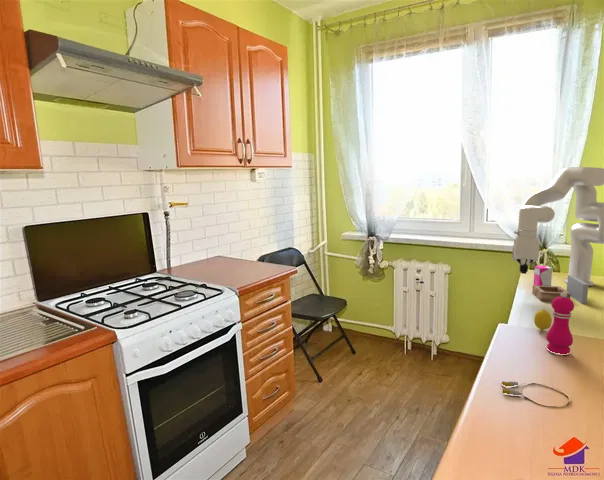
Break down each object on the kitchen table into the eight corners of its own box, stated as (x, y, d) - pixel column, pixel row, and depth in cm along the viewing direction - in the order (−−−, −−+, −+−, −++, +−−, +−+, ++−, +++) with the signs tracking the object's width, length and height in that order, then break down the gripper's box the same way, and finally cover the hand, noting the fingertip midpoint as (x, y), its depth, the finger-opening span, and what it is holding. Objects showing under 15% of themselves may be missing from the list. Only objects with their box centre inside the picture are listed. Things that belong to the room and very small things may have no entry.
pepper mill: (567, 348, 129) (573, 290, 126) (574, 358, 122) (581, 296, 119) (542, 345, 131) (547, 288, 128) (548, 355, 125) (553, 294, 121)
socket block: (532, 293, 187) (532, 285, 186) (559, 294, 184) (560, 286, 184) (540, 300, 176) (541, 292, 175) (569, 302, 173) (570, 293, 173)
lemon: (549, 328, 145) (551, 308, 144) (551, 334, 140) (553, 313, 139) (532, 326, 148) (534, 306, 146) (534, 332, 143) (535, 311, 141)
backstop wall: (566, 293, 187) (568, 275, 186) (570, 293, 187) (572, 275, 185) (581, 304, 172) (583, 284, 170) (586, 304, 171) (588, 284, 170)
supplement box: (544, 287, 197) (546, 265, 195) (550, 291, 191) (553, 268, 189) (532, 287, 198) (534, 265, 196) (538, 290, 192) (540, 268, 190)
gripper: (511, 234, 176) (507, 274, 179) (548, 235, 173) (544, 276, 176) (506, 232, 183) (503, 270, 186) (542, 233, 180) (538, 272, 183)
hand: (523, 273), depth 181 cm, fingers closed
